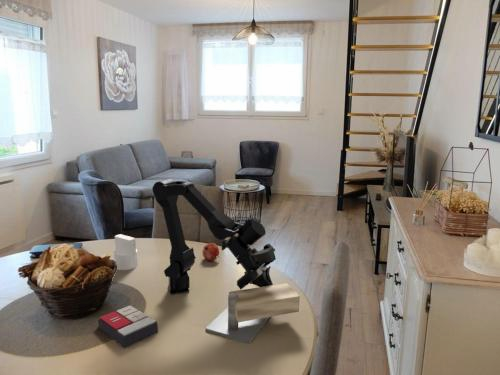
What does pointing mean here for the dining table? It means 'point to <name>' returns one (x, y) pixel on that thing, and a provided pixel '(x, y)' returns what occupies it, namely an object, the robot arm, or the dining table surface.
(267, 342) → the dining table surface
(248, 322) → the label board
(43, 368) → the dining table surface
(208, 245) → the pomegranate
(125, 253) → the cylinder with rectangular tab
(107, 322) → the red and grey box
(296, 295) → the beige wooden block
